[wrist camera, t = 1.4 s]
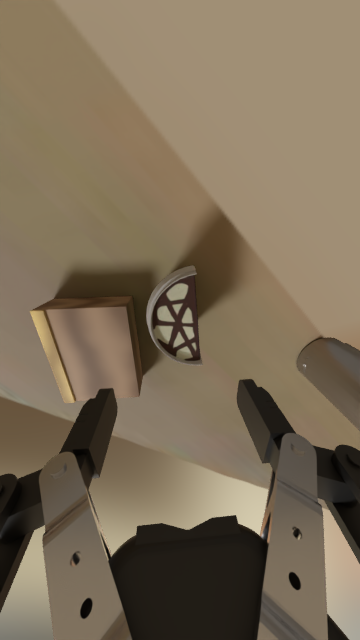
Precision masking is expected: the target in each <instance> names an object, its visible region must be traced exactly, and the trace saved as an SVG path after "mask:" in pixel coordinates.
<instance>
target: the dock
mask: <svg viewBox="0 0 360 640" xmlns="http://www.w3.org/2000/svg"><path fill="white" fill-rule="evenodd" d="M30 313H31V315H32V318H33V321H34V323H35V326H36V329H37V331H38V334H39V337H40V339H41V342H42V345H43V347H44V350H45V353H46V355H47V358H48V361H49V363H50V366H51V368H52V371H53V374H54V376H55V379H56V382H57V384H58V387H59V390H60V392H61V395H62V398H63V400H64V403H73V402H75V401H82V400H89V399H90V398H95V397H96V395H97V393H98V391H99V389H105V388H113V389H114V393H115V398H126V397H139V395H140V390H141V384H142V378H143V374H142V366H141V358H140V351H139V343H138V335H137V327H136V320H135V312H134V304H133V296H116V297H90V298H64V299H52V300H50V301H48V302H47V303H45V304H43V305H41V306H39V307H37V308H35V309H33V310H31V311H30Z"/></svg>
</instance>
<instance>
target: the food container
mask: <svg viewBox="0 0 360 640" xmlns="http://www.w3.org/2000/svg"><path fill="white" fill-rule="evenodd" d="M195 274H197V273H196V269H195V267H194V265H192V266H187V267H184V268H181V269H178V270H176V271H174V272H173V273H171V274H169V275H168V276H167V277H165V278H164V279H163V280H162V281H161V282H160V283H159V284H158V285H157V286H156V288H155V289H154V291H153V292H152V294H151V297H150V299H149V301H148V306H147V313H146V318H147V325H148V328H149V332H150V335H151V337H152V339H153V341H154V343H155V344H156V346H157V347H158V348H159V349H160V350H161V351H162V352H163V353H164V354H165V355H166V356H168V357H169V358H171V359H173V360H175V361H177V362H180V363H182V364H187V365H203V364H202V360H201V356H200V349H199V333H198V317H197V304H196V289H195V276H194V275H195Z"/></svg>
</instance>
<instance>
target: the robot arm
mask: <svg viewBox="0 0 360 640" xmlns="http://www.w3.org/2000/svg"><path fill="white" fill-rule="evenodd" d="M297 367H298V369H299V371H300V372H301V373H302V374H303V375H304V376H305V377H306V378H307V379H308V380H309V381H310V382H311V383H312V384H313V385H314V386H315V387H316V388H317V389H318V390H319V391H320V392H321V393H322V394H323V395H324V396H325V397H326V398H327V399H328V400H329V401H330V402H331V403H332V404H333V405H334V406H335V407H336V408H337V409H338V410H339V411H340V412H341V413H342V414H343V415H344V416H345V417H346V418H347V419H348V420H349V421H350V422H351V423H352V424H353V425H354V426H355V427H356V428H357V429H358V430H359V431H360V351H359V350H358V349H356V348H354V347H352V346H351V345H349V344H347V343H342V342H341V341H339V340H337V339H335V338H322V339H319V340H316V341H314V342H312V343H310V344H309V345H308V346H307V347H305V349H304V350H303V351H302V352H301V354H300V355H299V358H298V361H297ZM237 404H238V408H239V410H240V412H241V415H242V417H243V419H244V422H245V424H246V426H247V429H248V431H249V433H250V436H251V438H252V440H253V442H254V445H255V447H256V449H257V452H258V454H259V456H260V459H261V461H262V463H270V465H271V467H272V473H271V479H270V485H269V491H268V497H267V503H266V509H265V514H264V518H263V522H262V527H261V532H260V536H259V535H258V534H257V533H255V532H254V531H252V530H251V529H249V528H247V527H245V526H243V525H240V524H238V521H237V517H236V515H234V516H225V517H216V518H211V519H209V520H207V521H205V522H203V523H202V524H199V525H198V526H196V527H194V528H192V529H190V530H185V529H181V528H177V527H174V526H170V525H166V524H163V523H160V524H151V525H142V526H137V533H136V535H135V536H133V537H132V538H130V539H129V540H127V541H126V542H125V543H124V544H123V545H121V546H120V548H118V549H117V551H116V552H115V553H114V554H113V555H111V552H110V549H109V546H108V543H107V540H106V538H105V535H104V533H103V530H102V527H101V524H100V521H99V518H98V515H97V512H96V509H95V506H94V503H93V500H92V497H91V494H90V491H89V486H90V483H91V480H92V478H99V477H100V473H101V470H102V466H103V463H104V459H105V455H106V452H107V449H108V445H109V441H110V437H111V434H112V431H113V427H114V424H115V420H116V416H117V402H116V398H115V393H114V389H113V388H105V389H99V391H98V393H97V395H96V397H95V398H90V399H89V400H88V401H87V402H86V403H85V404H84V405H83V407H82V409H81V411H80V413H79V416H78V417H77V419H76V421H75V423H74V425H73V427H72V429H71V431H70V433H69V435H68V437H67V439H66V441H65V443H64V445H63V447H62V449H61V451H60V453H59V454H58V455H56V456H54V457H53V458H52V459H51V460H49V461H48V462H47V464H46V465H45V466H44V467H43V468H42V469H41V470H38V471H36V472H34V473H31V474H29V475H26V476H24V477H21V478H19V479H17V477H16V476H15V475H13V474H5V475H2V476H0V612H1V610H2V607H3V605H4V602H5V600H6V597H7V595H8V592H9V590H10V588H11V585H12V583H13V580H14V578H15V575H16V573H17V571H18V568H19V566H20V563H21V561H22V559H23V556H24V554H25V551H26V549H27V546H28V544H29V542H30V539H31V537H32V534H33V532H34V530H35V529H38V528H40V527H42V526H44V525H45V533H44V535H43V552H44V560H45V568H46V577H47V585H48V594H49V602H50V610H51V618H52V627H53V636H54V640H349V639H348V638H347V637H346V635H345V634H344V633H343V632H342V631H341V629H340V628H339V627H338V626H337V625H336V623H335V622H334V621H333V620H332V619H331V618H330V616H329V615H328V614H327V602H326V580H325V579H326V577H325V554H324V529H323V512H322V506H321V505H320V504H319V503H318V499H317V498H320V499H323V500H324V501H325V503H326V504H327V506H328V508H329V510H330V512H331V513H332V515H333V517H334V518H335V520H336V522H337V524H338V526H339V527H340V529H341V531H342V533H343V535H344V537H345V538H346V540H347V542H348V544H349V546H350V547H351V549H352V551H353V553H354V554H355V556H356V558H357V560H358V562H359V563H360V451H359V450H357V449H356V448H353V447H351V446H348V445H339V446H337V447H336V449H335V451H333V450H329V449H325V448H320V447H316V446H313V445H312V444H311V443H310V442H309V441H308V440H307V439H305V438H304V437H302V436H300V435H298V434H296V433H295V431H294V430H293V428H292V427H291V425H290V424H289V422H288V421H287V419H286V418H285V416H284V415H283V413H282V412H281V410H280V409H279V408H278V406H277V404H276V403H275V402H274V400H273V398H272V397H271V395H270V394H269V393H268V392H267V391H266V390H265V389H263V388H262V387H257V386H256V384H255V382H254V381H253V380H252V379H245V380H239V385H238V392H237Z"/></svg>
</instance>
